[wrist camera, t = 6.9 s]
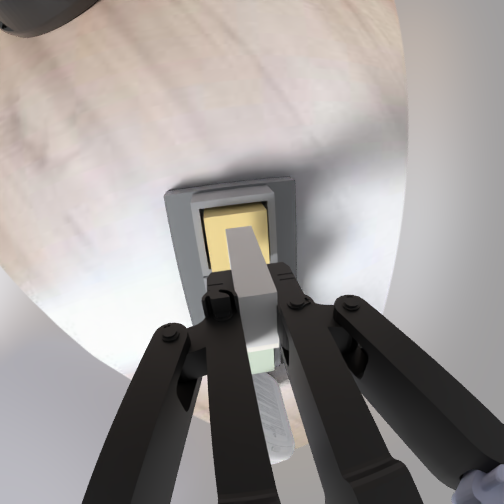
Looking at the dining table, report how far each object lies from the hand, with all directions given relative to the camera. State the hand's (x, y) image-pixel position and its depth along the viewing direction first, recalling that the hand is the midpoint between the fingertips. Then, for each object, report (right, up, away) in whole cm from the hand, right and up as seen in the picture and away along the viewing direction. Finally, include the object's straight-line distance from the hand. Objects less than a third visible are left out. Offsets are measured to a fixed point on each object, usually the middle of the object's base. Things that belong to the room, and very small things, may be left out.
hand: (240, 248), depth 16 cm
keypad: (0, -3, +9) cm, 9 cm away
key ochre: (-1, +2, +5) cm, 5 cm away
